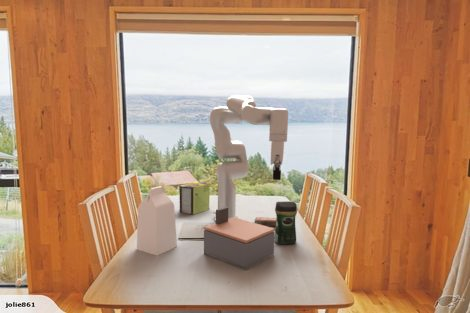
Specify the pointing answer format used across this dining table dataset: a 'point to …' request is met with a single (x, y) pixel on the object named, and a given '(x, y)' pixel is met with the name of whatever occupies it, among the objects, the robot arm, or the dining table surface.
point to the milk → (156, 223)
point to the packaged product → (266, 222)
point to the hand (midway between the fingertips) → (276, 177)
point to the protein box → (194, 197)
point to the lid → (237, 227)
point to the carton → (239, 249)
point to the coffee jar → (285, 223)
